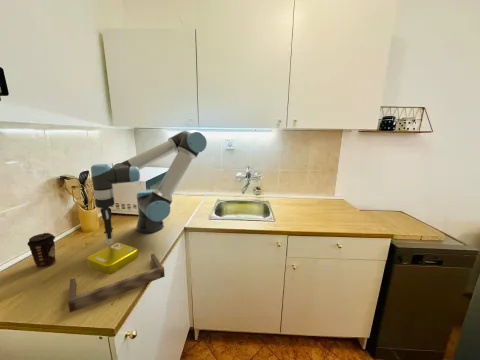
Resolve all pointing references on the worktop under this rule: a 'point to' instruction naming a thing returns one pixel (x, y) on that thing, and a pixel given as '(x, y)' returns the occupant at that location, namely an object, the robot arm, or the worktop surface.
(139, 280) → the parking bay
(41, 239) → the coffee cup
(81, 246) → the worktop surface
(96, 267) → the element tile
